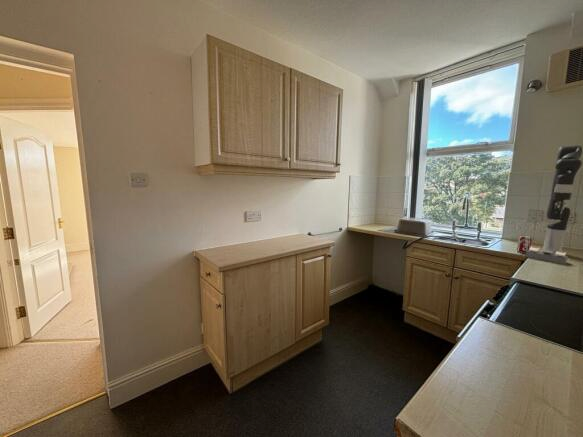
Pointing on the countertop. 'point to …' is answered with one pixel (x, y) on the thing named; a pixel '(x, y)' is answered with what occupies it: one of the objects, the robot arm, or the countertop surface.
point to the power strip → (547, 257)
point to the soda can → (524, 244)
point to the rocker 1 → (534, 249)
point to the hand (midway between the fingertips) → (557, 219)
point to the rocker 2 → (560, 253)
